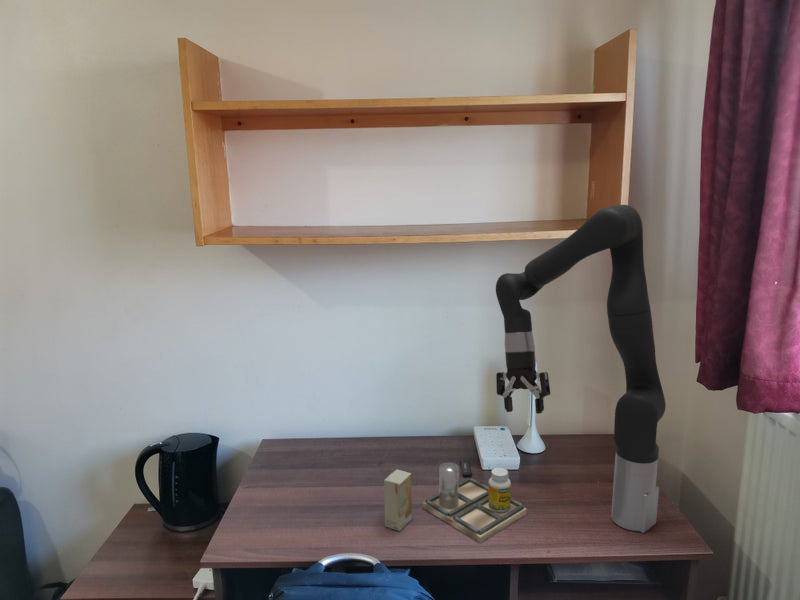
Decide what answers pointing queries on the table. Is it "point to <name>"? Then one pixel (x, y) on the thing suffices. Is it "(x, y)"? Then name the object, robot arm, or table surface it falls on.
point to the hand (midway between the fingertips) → (524, 412)
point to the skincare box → (397, 499)
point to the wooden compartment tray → (475, 511)
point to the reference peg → (449, 485)
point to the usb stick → (465, 468)
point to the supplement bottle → (499, 490)
